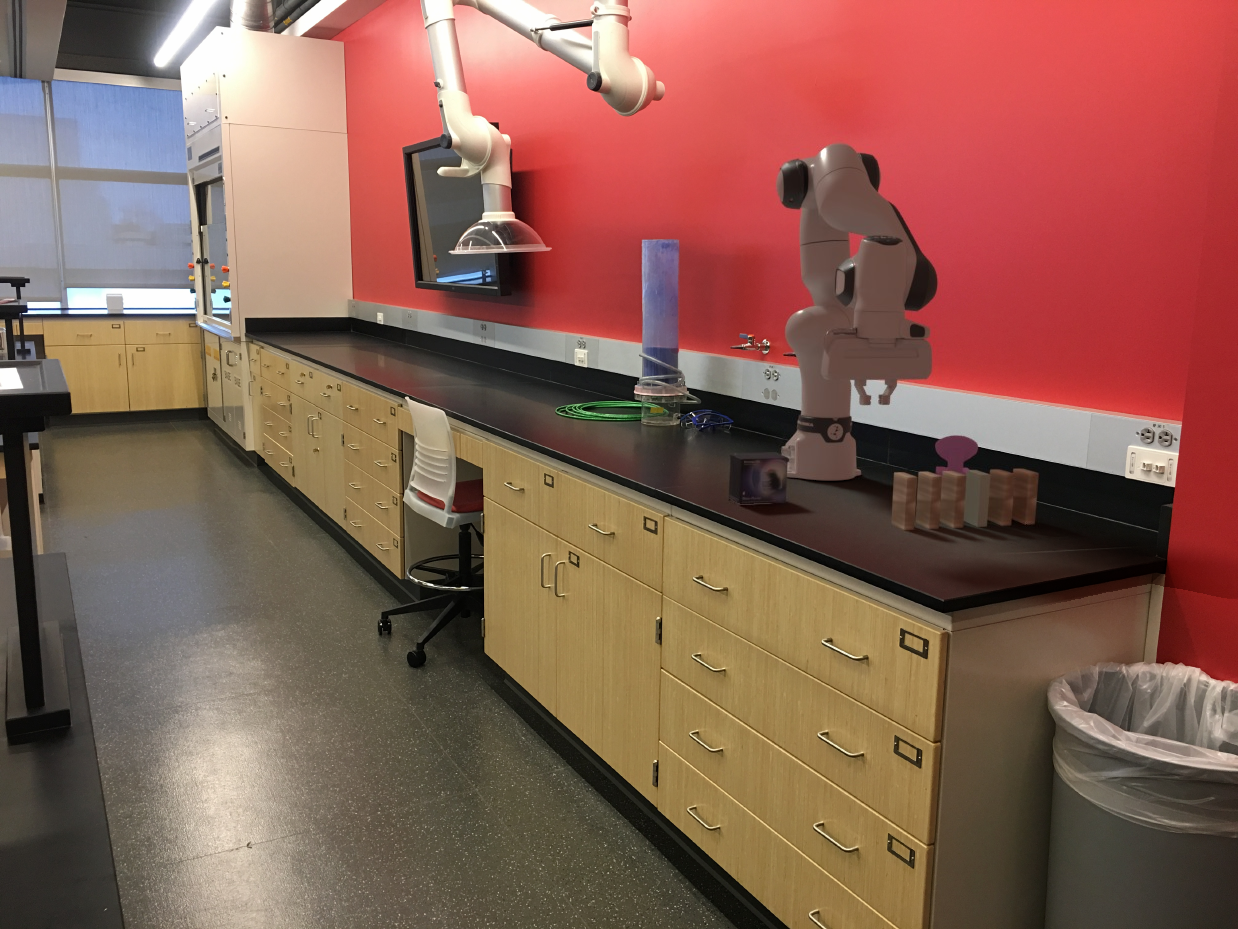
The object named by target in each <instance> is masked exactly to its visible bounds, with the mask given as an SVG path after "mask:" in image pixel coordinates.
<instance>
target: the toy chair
mask: <svg viewBox="0 0 1238 929" xmlns="http://www.w3.org/2000/svg"><path fill="white" fill-rule="evenodd" d="M934 446H935V447H934V448H935V451H936V453H937V455H939V456H940V458H942V459H943V460H945V461H946V462H947V467H945V466H936V467H935V474H937V475H940V476H942V474H943V471H954V472H957V473H960V474H964V475H966V470H970V469H969V468H968V467H964V462H966V461H968V460H969V459H971V458H972V457H973V456H975V455H976V454H977V452H978V450H979V445H978V442H976V441H975V440H974V439H972V438H971V437H968V436H965V435H948V436H945V437H941V438H940V439H938V440H937V441H935V444H934ZM941 490H942V486H941ZM940 505H941V502H940Z"/></svg>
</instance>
